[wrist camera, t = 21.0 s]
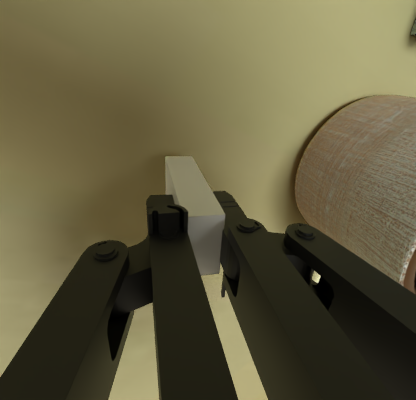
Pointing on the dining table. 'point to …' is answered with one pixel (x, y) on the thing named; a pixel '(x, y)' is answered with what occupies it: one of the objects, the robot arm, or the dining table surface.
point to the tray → (414, 29)
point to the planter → (365, 183)
